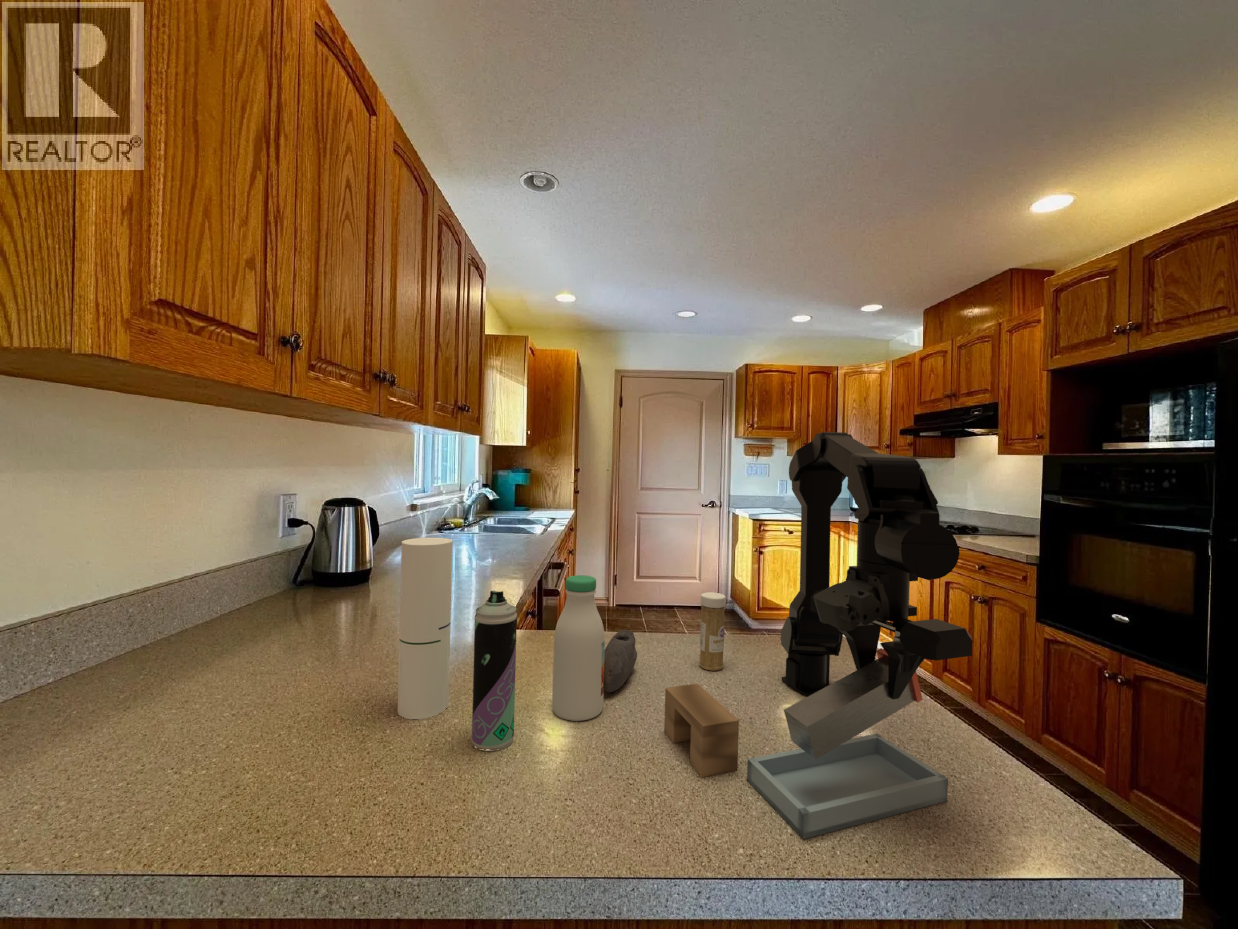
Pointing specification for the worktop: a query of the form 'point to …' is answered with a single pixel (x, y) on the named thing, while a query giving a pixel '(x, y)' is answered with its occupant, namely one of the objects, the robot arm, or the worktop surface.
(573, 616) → the milk bottle
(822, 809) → the tray
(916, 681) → the red capped grey bar
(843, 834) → the worktop surface
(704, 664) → the spice jar
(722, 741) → the block
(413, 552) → the cylindrical container
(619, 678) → the perforated stone tool
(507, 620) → the spray can
